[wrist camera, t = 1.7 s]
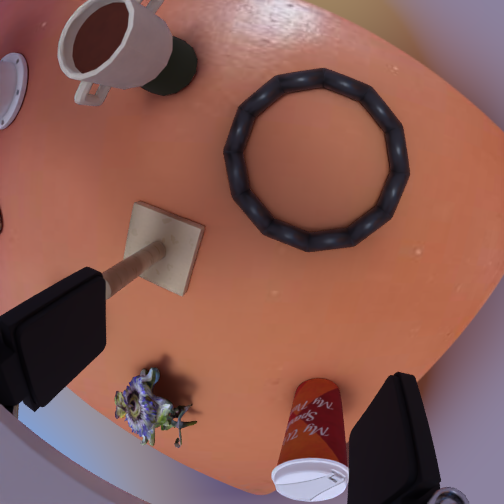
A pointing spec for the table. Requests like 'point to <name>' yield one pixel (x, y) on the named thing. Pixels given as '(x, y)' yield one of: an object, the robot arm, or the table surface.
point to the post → (156, 251)
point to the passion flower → (148, 408)
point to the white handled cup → (123, 50)
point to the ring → (257, 209)
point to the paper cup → (313, 445)
